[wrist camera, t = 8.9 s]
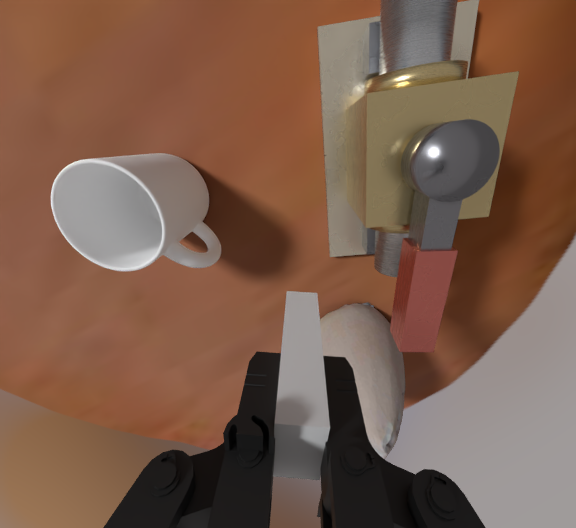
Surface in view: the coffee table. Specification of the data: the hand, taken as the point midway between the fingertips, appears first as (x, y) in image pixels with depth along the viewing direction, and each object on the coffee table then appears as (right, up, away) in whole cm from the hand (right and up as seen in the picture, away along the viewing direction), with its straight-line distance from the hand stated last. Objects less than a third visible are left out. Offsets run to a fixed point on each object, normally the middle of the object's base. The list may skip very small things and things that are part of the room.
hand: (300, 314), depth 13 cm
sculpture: (+8, -8, +22) cm, 25 cm away
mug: (-12, +9, +15) cm, 21 cm away
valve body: (+9, +13, +12) cm, 20 cm away
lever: (+9, +4, +5) cm, 11 cm away
